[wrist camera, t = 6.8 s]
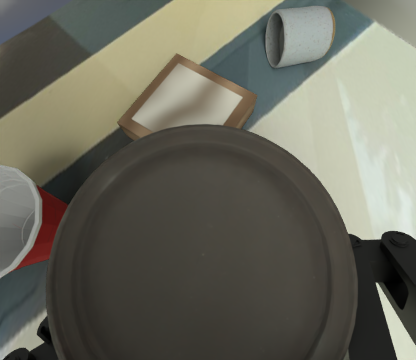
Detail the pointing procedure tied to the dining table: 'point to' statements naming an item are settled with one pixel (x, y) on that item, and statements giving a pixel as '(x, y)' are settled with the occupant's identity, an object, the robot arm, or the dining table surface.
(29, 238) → the plastic cup
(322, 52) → the ceramic mug
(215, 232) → the coffee can
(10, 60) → the dining table surface
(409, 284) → the robot arm
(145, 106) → the picture frame
